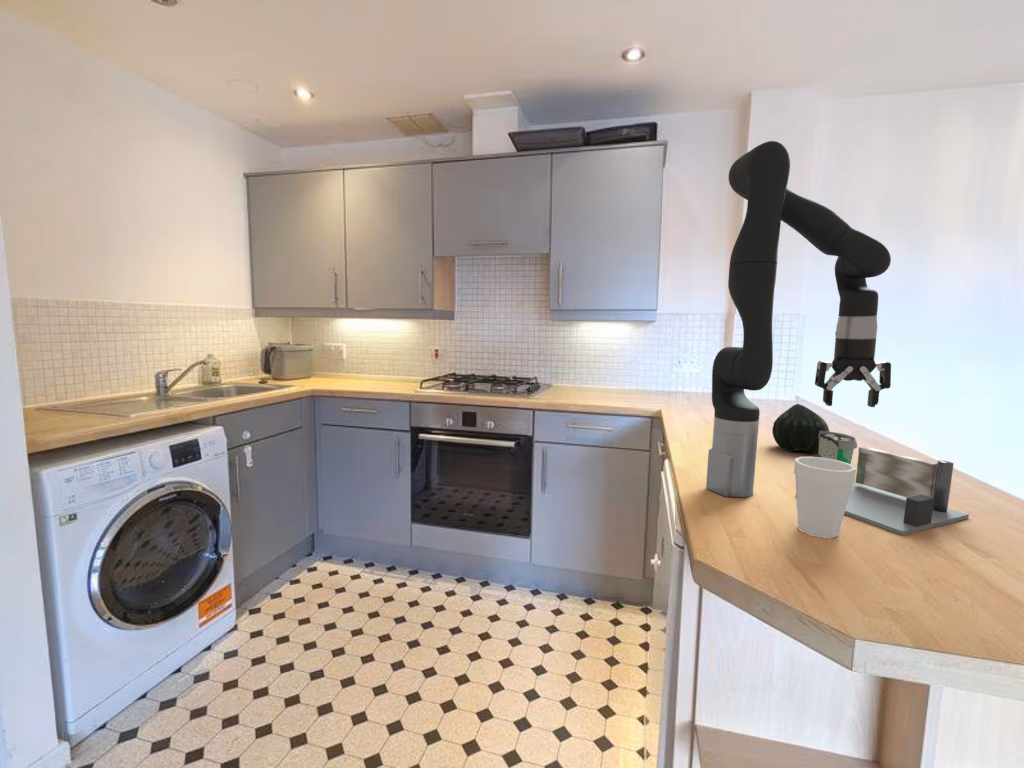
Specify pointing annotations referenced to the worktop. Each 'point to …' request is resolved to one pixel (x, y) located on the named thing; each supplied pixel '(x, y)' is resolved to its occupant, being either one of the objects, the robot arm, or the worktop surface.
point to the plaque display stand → (905, 506)
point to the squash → (799, 429)
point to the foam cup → (822, 494)
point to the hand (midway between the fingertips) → (849, 405)
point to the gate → (895, 473)
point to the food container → (836, 446)
